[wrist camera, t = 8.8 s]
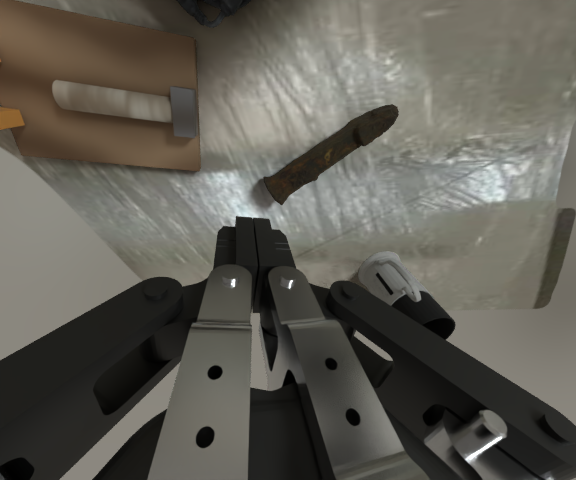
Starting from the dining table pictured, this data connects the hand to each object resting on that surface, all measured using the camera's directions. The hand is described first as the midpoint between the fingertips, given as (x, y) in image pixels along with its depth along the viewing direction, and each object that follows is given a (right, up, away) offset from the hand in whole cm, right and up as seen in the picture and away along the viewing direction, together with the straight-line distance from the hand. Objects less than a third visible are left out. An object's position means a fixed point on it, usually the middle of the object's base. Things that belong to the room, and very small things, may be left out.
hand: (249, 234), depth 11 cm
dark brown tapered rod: (+7, +13, +22) cm, 26 cm away
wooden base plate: (-17, +15, +15) cm, 27 cm away
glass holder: (+19, -4, +35) cm, 39 cm away
